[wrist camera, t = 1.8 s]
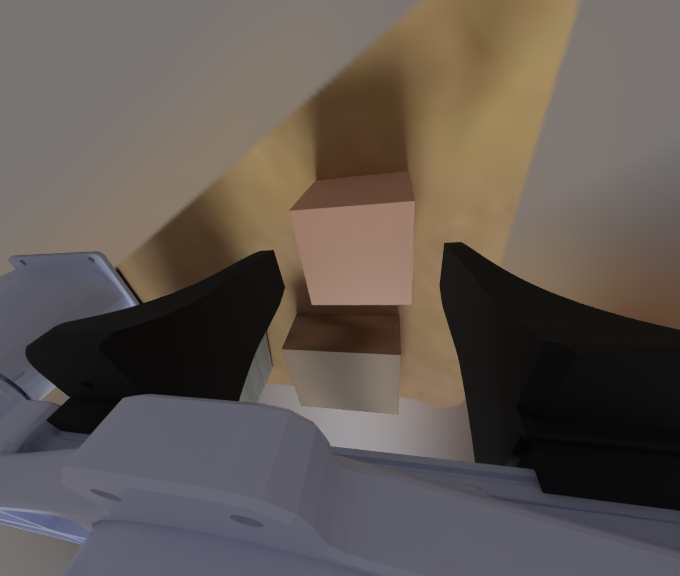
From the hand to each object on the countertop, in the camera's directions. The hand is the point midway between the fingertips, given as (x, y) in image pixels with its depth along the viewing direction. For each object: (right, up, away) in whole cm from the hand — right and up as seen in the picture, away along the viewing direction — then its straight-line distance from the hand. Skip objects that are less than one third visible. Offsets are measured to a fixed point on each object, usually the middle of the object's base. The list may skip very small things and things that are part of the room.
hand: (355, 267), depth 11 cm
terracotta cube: (+1, +3, +4) cm, 6 cm away
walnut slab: (0, -6, +11) cm, 13 cm away
